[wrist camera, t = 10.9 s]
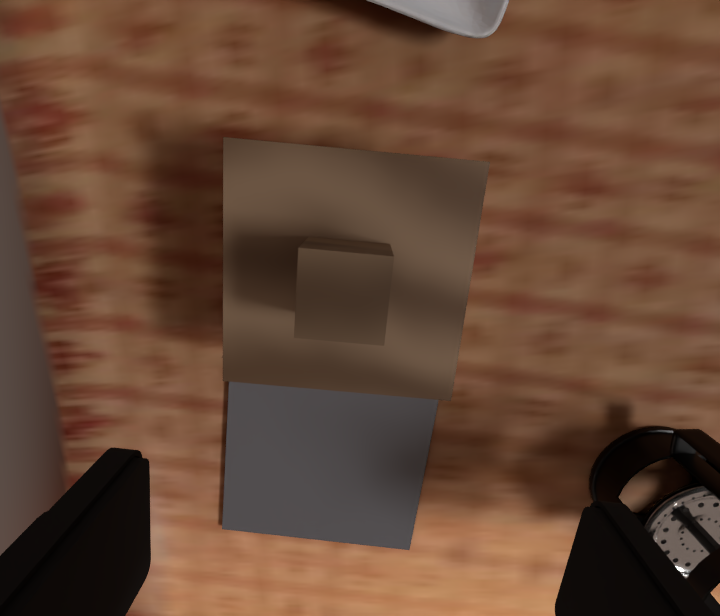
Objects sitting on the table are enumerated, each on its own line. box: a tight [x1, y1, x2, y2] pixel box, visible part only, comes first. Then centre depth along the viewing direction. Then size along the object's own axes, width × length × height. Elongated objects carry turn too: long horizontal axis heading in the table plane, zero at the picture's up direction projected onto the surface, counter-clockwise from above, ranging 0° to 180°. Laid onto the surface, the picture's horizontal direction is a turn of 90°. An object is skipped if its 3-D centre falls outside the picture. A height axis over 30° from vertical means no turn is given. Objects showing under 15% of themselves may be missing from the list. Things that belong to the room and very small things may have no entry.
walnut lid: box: [223, 137, 490, 401], centre depth 24 cm, size 14×14×5 cm
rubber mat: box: [222, 382, 438, 550], centre depth 36 cm, size 16×16×1 cm
